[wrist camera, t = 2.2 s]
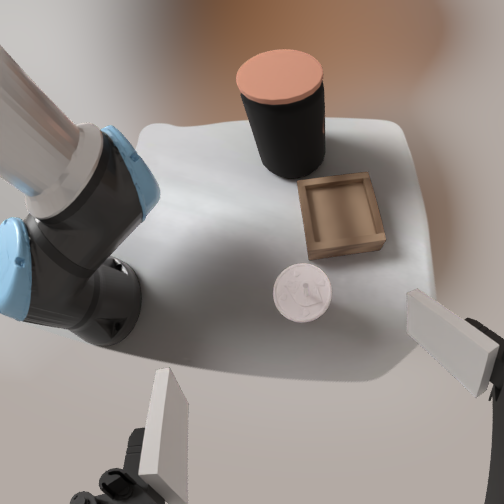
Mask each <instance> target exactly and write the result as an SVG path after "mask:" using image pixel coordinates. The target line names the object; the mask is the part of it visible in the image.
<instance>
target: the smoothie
mask: <svg viewBox="0 0 504 504" xmlns="http://www.w3.org/2000/svg"><path fill="white" fill-rule="evenodd" d="M273 298H274V302H275V305H276V307H277V309H278V310H279V312H280V313H281V314H282V315H283V316H284V317H286V318H287V319H289V320H292V321H294V322H302V323H304V322H310V321H313V320H315V319H317V318H319V317H320V316H321V315H322V314H324V313H325V311H326V310H327V308H328V307H329V304H330V302H331V298H332V287H331V283H330V280H329V278H328V277H327V275H326V274H325V273H324V272H323V271H322V270H321V269H320V268H318V267H316V266H314V265H312V264H307V263H299V264H294V265H291V266H289V267H288V268H286V269H285V270H283V271H282V272H281V273H280V274H279V276H278V277H277V279H276V281H275V283H274V287H273Z"/></svg>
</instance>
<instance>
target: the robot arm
mask: <svg viewBox="0 0 504 504" xmlns="http://www.w3.org/2000/svg"><path fill="white" fill-rule="evenodd" d="M0 177H1V178H2V179H3V180H5V181H6V182H8V183H9V184H11V185H12V186H14V187H15V188H17V189H18V190H20V191H21V192H23V193H24V194H25V204H26V208H27V210H28V212H29V215H28V216H27V217H26V219H25V220H24V221H22V219H20V218H14V217H11V218H8V219H7V220H5V221H3V223H2V224H1V225H0V313H1V314H3V315H5V316H8V317H11V318H14V319H16V320H17V321H23V322H29V323H34V324H39V325H45V326H51V327H57V328H63V329H68V330H70V331H71V332H73V333H74V334H75V335H77V336H78V337H80V338H81V339H83V340H84V341H86V342H88V343H91V344H95V345H104V346H108V345H113V344H116V343H118V342H120V341H121V340H123V339H124V338H125V337H126V336H127V335H128V334H129V333H130V332H131V330H132V329H133V327H134V325H135V323H136V321H137V319H138V316H139V312H140V307H141V289H140V284H139V281H138V278H137V276H136V274H135V273H134V271H133V270H132V268H131V267H130V266H129V265H128V264H126V263H125V262H123V261H121V260H119V259H117V258H115V257H112V256H110V255H111V254H112V253H113V252H114V251H115V249H116V248H117V247H118V246H119V245H120V244H121V243H122V242H123V241H124V240H125V239H126V238H127V237H128V236H129V235H130V234H131V233H132V232H133V231H134V230H135V228H136V227H137V226H138V225H139V224H140V223H142V222H143V221H144V220H145V218H146V216H147V215H148V213H149V212H150V211H151V210H152V209H153V208H154V206H155V205H156V204H157V203H158V201H159V199H160V188H159V185H158V183H157V181H156V179H155V178H154V176H153V174H152V173H151V171H150V170H149V168H148V167H147V165H146V164H145V162H144V161H143V160H142V158H141V157H140V156H139V155H138V154H137V152H136V151H135V149H134V148H133V146H132V145H131V144H130V142H129V141H128V140H127V139H126V138H125V137H124V135H123V134H122V133H121V132H120V131H119V130H118V129H116V128H115V127H114V126H112V125H109V126H106V127H105V128H103V129H101V130H100V129H99V128H98V127H97V126H96V125H94V124H92V123H80V124H74V123H73V122H72V121H71V120H70V119H69V118H68V117H67V116H66V115H65V114H64V113H63V112H62V111H61V110H60V109H59V108H58V107H57V106H56V105H55V104H54V102H53V101H52V100H51V99H50V98H49V97H48V96H47V95H46V94H45V93H44V92H43V91H42V90H41V89H40V88H39V87H38V86H37V85H36V83H35V82H34V81H33V80H32V79H31V78H30V77H29V76H28V75H27V74H26V73H25V72H24V71H23V69H21V68H20V66H19V65H18V64H17V63H16V62H15V61H14V60H13V59H12V58H11V56H10V55H9V54H8V53H7V52H6V51H5V50H4V49H3V47H1V45H0ZM407 334H408V335H409V336H410V337H412V338H413V339H414V340H415V341H416V342H417V343H418V344H419V345H420V346H422V348H424V349H425V350H426V351H427V352H428V353H429V354H430V355H431V356H432V357H433V358H434V359H436V360H437V361H438V362H439V363H440V364H441V365H442V366H443V367H444V368H445V369H446V370H447V371H448V372H449V373H450V374H451V375H452V376H454V378H456V379H457V380H458V381H459V382H460V383H461V384H462V385H463V386H464V387H465V388H466V389H467V390H468V391H469V392H470V393H471V394H472V395H473V396H474V397H475V398H477V397H478V396H479V395H481V394H482V393H484V392H485V391H486V390H487V387H488V384H489V381H490V382H491V383H493V384H494V385H493V388H492V391H491V394H490V397H489V401H490V400H491V397H493V431H492V449H491V461H490V471H489V479H488V486H487V492H486V499H485V504H504V339H503V338H501V337H500V336H498V335H497V334H496V333H494V332H493V331H491V330H489V329H488V328H487V327H485V326H483V325H482V324H481V323H480V322H478V321H477V320H473V319H470V318H466V319H465V320H464V319H462V318H461V317H459V316H458V315H456V314H455V313H453V312H452V311H451V310H449V309H448V308H446V307H445V306H443V305H442V304H440V303H439V302H437V301H436V300H434V299H433V298H431V297H430V296H428V295H427V294H425V293H423V292H422V291H420V290H419V289H415V290H413V291H410V292H408V293H407ZM188 410H189V403H188V402H187V400H186V398H185V396H184V394H183V392H182V390H181V388H180V386H179V385H178V382H177V381H176V379H175V377H174V375H173V373H172V371H171V369H170V367H168V368H163V369H158V370H156V373H155V378H154V383H153V388H152V394H151V399H150V404H149V410H148V415H147V422H146V427H145V428H138V429H134V431H133V433H132V434H131V436H130V437H129V441H128V448H127V451H126V454H127V455H126V456H125V462H124V467H123V469H119V468H114V469H110V470H108V471H106V472H105V473H104V474H103V475H102V476H101V478H100V480H99V487H100V489H101V490H102V491H103V492H104V493H105V494H102V495H98V496H95V497H94V496H93V495H92V494H91V493H89V492H85V491H83V492H79V493H77V494H75V495H74V496H73V497H72V499H71V501H70V504H165V501H166V502H167V503H168V504H188V480H187V479H188V476H187V475H188V469H187V467H188V464H187V463H188Z"/></svg>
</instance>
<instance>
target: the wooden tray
mask: <svg viewBox="0 0 504 504" xmlns="http://www.w3.org/2000/svg"><path fill="white" fill-rule="evenodd" d="M297 186H298V193H299V199H300V206H301V212H302V218H303V224H304V231H305V237H306V244H307V251H308V258H309V260H314V259H321V258H329V257H336V256H343V255H349V254H356V253H363V252H370V251H377V250H380V249H381V248H382V246H383V244H384V243H385V241H386V237H385V232H384V228H383V224H382V220H381V216H380V212H379V208H378V204H377V201H376V197H375V194H374V190H373V187H372V183H371V180H370V176H369V173H368V172H360V173H352V174H343V175H335V176H328V177H320V178H313V179H306V180H299V181H297Z"/></svg>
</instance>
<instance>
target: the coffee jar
mask: <svg viewBox="0 0 504 504" xmlns="http://www.w3.org/2000/svg"><path fill="white" fill-rule="evenodd" d="M322 79H323V70H322V66H321V65H320V63H319V62H318V61H317V60H316V59H315V58H314V57H312V56H311V55H309V54H307V53H304V52H301V51H297V50H288V49H281V50H272V51H268V52H264V53H260V54H258V55H256V56H254V57H252V58H250V59H249V60H248V61H246V62H245V63H244V64H243V65H242V66H241V68H240V69H239V70H238V72H237V77H236V82H237V85H238V87H239V89H240V91H241V98H242V101H243V104H244V107H245V110H246V113H247V116H248V119H249V123H250V126H251V129H252V132H253V135H254V138H255V141H256V144H257V148H258V151H259V154H260V157H261V160H262V162H263V164H264V166H265V167H266V168H267V169H268V170H269V171H271V172H272V173H274V174H276V175H278V176H281V177H285V178H299V177H302V176H306V175H308V174H310V173H311V172H313V171H314V170H316V169H317V168H318V167H319V165H320V164H321V163H322V161H323V159H324V155H325V103H324V87H323V81H322Z"/></svg>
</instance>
